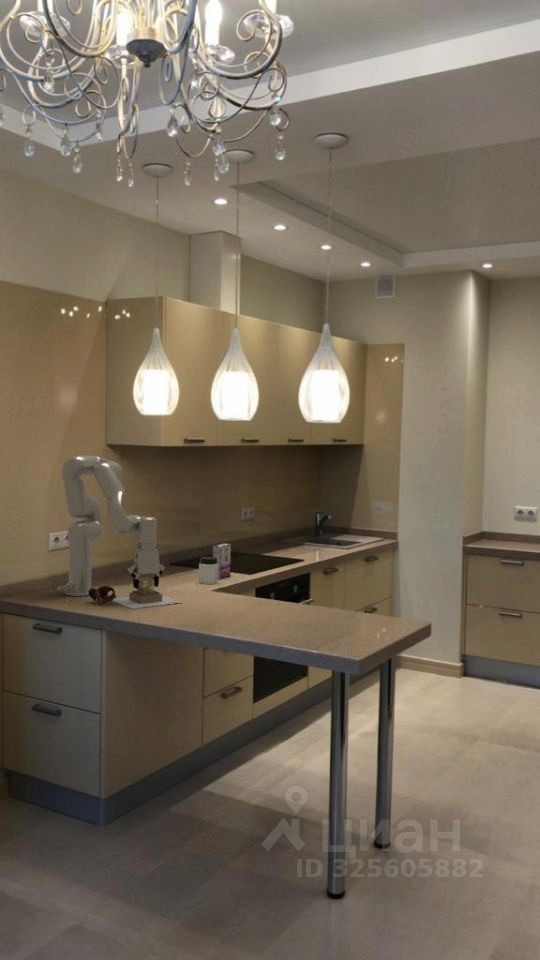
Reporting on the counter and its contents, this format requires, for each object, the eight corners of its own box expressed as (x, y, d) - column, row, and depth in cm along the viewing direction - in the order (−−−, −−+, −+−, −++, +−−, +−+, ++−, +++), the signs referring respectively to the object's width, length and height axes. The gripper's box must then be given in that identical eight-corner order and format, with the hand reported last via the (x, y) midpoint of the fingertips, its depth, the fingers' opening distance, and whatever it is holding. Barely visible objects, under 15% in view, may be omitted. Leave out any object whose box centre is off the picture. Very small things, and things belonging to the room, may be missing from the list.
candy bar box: (221, 575, 425) (222, 543, 424) (230, 576, 423) (231, 544, 422) (211, 578, 415) (212, 545, 414) (220, 579, 413) (221, 546, 412)
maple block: (143, 595, 349) (143, 580, 349) (137, 593, 353) (137, 578, 352) (153, 593, 352) (154, 579, 352) (147, 591, 356) (148, 577, 356)
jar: (211, 584, 398) (212, 559, 397) (196, 583, 401) (196, 558, 400) (219, 582, 406) (220, 557, 405) (204, 580, 409) (205, 556, 408)
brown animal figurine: (117, 602, 352) (120, 587, 348) (109, 616, 344) (111, 601, 340) (90, 593, 353) (93, 578, 349) (81, 607, 345) (83, 592, 341)
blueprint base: (131, 609, 337) (132, 598, 337) (108, 600, 353) (108, 590, 353) (182, 603, 352) (183, 593, 352) (158, 595, 368) (158, 585, 368)
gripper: (133, 548, 343) (132, 590, 344) (169, 546, 354) (168, 587, 355) (124, 546, 349) (123, 587, 350) (160, 544, 360) (159, 584, 361)
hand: (146, 587), depth 352 cm, fingers open, 9 cm apart
